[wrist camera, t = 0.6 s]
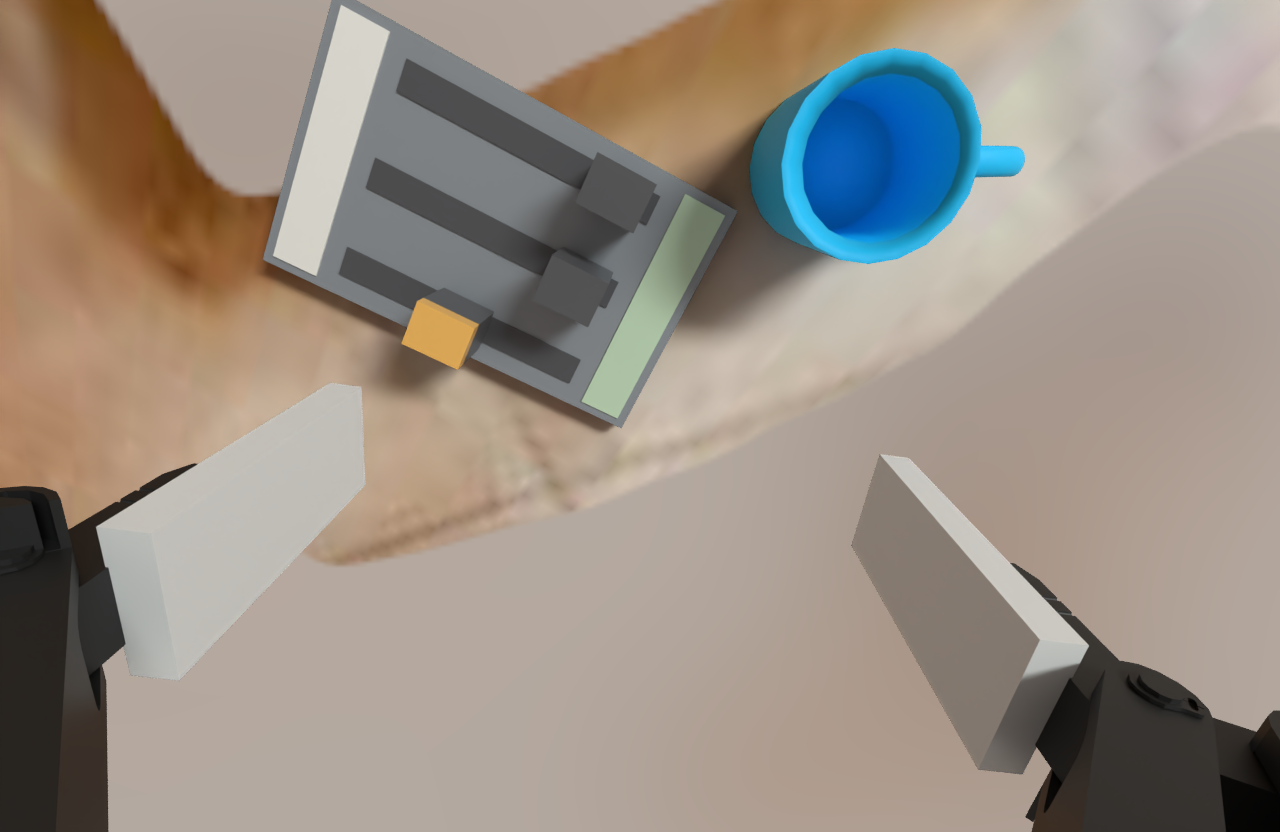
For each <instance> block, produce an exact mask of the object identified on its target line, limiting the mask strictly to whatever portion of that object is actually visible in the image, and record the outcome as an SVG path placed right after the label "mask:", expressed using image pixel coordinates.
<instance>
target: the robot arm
mask: <svg viewBox="0 0 1280 832" xmlns="http://www.w3.org/2000/svg"><path fill="white" fill-rule="evenodd" d="M364 486H365V468H364V441H363V415H362V389H361V387H358V386H350V385H343V384H335V383H329V384H327V385H326V386H324V387H323V388H321V389H319V390H318V391H316V392H314V393H313V394H311V395H310V396H308V397H306V398H305V399H303V400H301V401H300V402H298V403H297V404H295V405H293V406H292V407H290V408H288V409H287V410H285V411H284V412H282V413H280V414H279V415H277V416H275V417H274V418H272V419H271V420H269V421H267V422H266V423H264V424H262V425H261V426H259V427H258V428H256V429H254V430H253V431H251V432H249V433H248V434H246V435H245V436H243V437H241V438H240V439H238V440H236V441H235V442H233V443H232V444H230V445H228V446H227V447H225V448H223V449H222V450H220V451H219V452H217V453H215V454H214V455H212V456H210V457H209V458H207V459H206V460H204V461H202V462H201V463H199V464H191V465H188V466H185V467H182V468H179V469H176V470H173V471H170V472H167V473H164V474H162V475H160V476H159V477H157V478H155V479H154V480H152V481H150V482H149V483H147V484H145V485H144V486H142V487H140V490H139V491H136V490H135V491H133V492H132V493H130V494H128V495H127V496H125V497H123V498H122V499H121V501H120V502H115V503H113V504H111V505H110V506H108V507H106V508H105V509H103V510H101V511H100V512H98V513H96V514H95V515H93V516H91V517H89V518H88V519H86V520H84V521H83V522H81V523H79V524H78V525H76V526H74V527H73V528H71V529H69V530H68V527H67V523H66V519H65V515H64V511H63V507H62V503H61V499H60V497H59V496H58V494H57V492H56V491H53V490H50V489H47V488H44V487H30V486H20V487H8V488H0V832H108V782H107V781H108V778H107V777H108V775H107V703H106V702H107V701H106V679H105V675H104V671H103V667H102V664H103V663H104V662H106V661H107V660H108V659H109V658H110V657H111V656H112V655H113V654H115V653H116V652H117V651H118V650H119V649H121V648H122V647H123V646H124V650H125V655H126V659H127V663H128V668H129V672H130V675H132V676H141V677H150V678H159V679H168V680H177V681H179V680H181V678H182V677H183V676H184V675H185V674H186V673H187V672H188V671H189V670H190V669H191V668H192V667H193V666H194V664H196V663H197V662H198V660H200V658H201V657H202V656H203V655H204V654H205V653H206V652H207V651H208V650H209V649H210V648H211V647H212V646H213V644H215V643H216V642H217V641H218V639H220V637H221V636H222V635H223V634H224V633H225V632H226V631H227V630H228V629H229V628H230V627H231V626H232V625H233V624H234V623H235V622H236V620H237V619H238V618H239V617H240V616H241V615H242V614H243V613H244V612H245V611H246V610H247V609H248V608H249V607H250V606H251V605H252V604H253V602H255V600H257V598H258V597H259V596H260V595H261V594H262V593H263V592H264V591H265V590H266V589H267V588H268V587H269V586H270V585H271V584H272V583H273V582H274V580H276V578H277V577H278V576H279V575H280V574H281V573H282V572H283V571H284V570H285V569H286V568H287V567H288V566H289V565H290V564H291V563H292V562H293V561H294V560H295V559H296V557H297V556H298V555H299V554H300V553H301V552H302V551H303V550H304V549H305V548H306V547H307V546H308V545H309V544H310V543H311V542H312V541H313V540H314V539H315V537H316V536H317V535H318V534H319V533H320V532H321V531H322V530H323V529H324V528H325V527H326V526H327V525H328V524H329V523H330V522H331V521H332V520H333V519H334V517H335V516H336V515H337V514H338V513H339V512H340V511H341V510H342V509H343V508H344V507H345V506H346V505H347V504H348V503H349V502H350V501H351V500H352V499H353V497H354V496H355V495H356V494H357V493H358V492H359V491H360V490H361V489H362V488H363V487H364ZM851 546H852V547H853V549H854V551H855V553H856V555H857V556H858V558H859V559H860V562H861V563H862V565H863V567H864V569H865V570H866V572H867V574H868V576H869V578H870V579H871V581H872V583H873V585H874V586H875V588H876V590H877V592H878V593H879V595H880V597H881V599H882V601H883V602H884V604H885V606H886V607H887V609H888V611H889V613H890V614H891V616H892V618H893V620H894V622H895V624H896V625H897V627H898V629H899V630H900V632H901V634H902V636H903V638H904V639H905V641H906V643H907V645H908V646H909V648H910V650H911V652H912V654H913V655H914V657H915V659H916V661H917V662H918V664H919V666H920V668H921V669H922V671H923V673H924V675H925V676H926V678H927V680H928V682H929V684H930V685H931V687H932V689H933V690H934V692H935V694H936V696H937V698H938V699H939V701H940V703H941V705H942V707H943V708H944V710H945V712H946V714H947V715H948V717H949V719H950V721H951V722H952V724H953V726H954V728H955V730H956V731H957V733H958V735H959V737H960V738H961V740H962V742H963V744H964V745H965V747H966V749H967V751H968V752H969V754H970V756H971V758H972V760H973V761H974V763H975V765H976V767H977V768H978V769H979V770H987V771H996V772H1005V773H1014V774H1023V772H1024V770H1025V768H1026V766H1027V764H1028V763H1029V761H1030V759H1031V757H1032V755H1033V753H1034V751H1035V749H1036V747H1037V748H1038V750H1039V751H1040V752H1041V754H1042V755H1043V756H1044V758H1045V760H1046V761H1047V762H1048V764H1049V765H1050V767H1051V770H1050V772H1049V774H1048V776H1047V778H1046V780H1045V781H1044V783H1043V785H1042V787H1041V789H1040V791H1039V792H1038V794H1037V796H1036V798H1035V800H1034V802H1033V804H1032V805H1031V807H1030V809H1029V811H1028V813H1027V815H1026V818H1028V819H1029V820H1031V821H1032V822H1033V821H1034V824H1033V828H1032V832H1280V711H1273V712H1272V713H1271V714H1270V715H1269V716H1268V717H1267V718H1266V720H1265V721H1264V722H1263V724H1262V725H1261V727H1260V728H1259V730H1258V731H1257V732H1255V731H1251V730H1249V729H1246V728H1243V727H1240V726H1237V725H1233V724H1230V723H1227V722H1224V721H1221V720H1218V719H1215V718H1212V716H1211V714H1210V711H1209V709H1208V708H1207V707H1206V706H1205V705H1204V704H1203V703H1202V702H1201V701H1200V700H1199V699H1198V698H1197V697H1196V696H1195V695H1194V694H1193V693H1191V692H1190V691H1189V690H1187V689H1186V688H1185V687H1183V686H1182V685H1180V684H1179V683H1177V682H1176V681H1174V680H1172V679H1170V678H1168V677H1166V676H1165V675H1163V674H1161V673H1159V672H1157V671H1155V670H1152V669H1149V668H1147V667H1144V666H1142V665H1139V664H1134V663H1130V662H1124V661H1119V660H1118V659H1117V658H1116V657H1115V656H1114V655H1113V654H1112V653H1111V652H1110V651H1109V650H1108V649H1107V648H1106V647H1105V646H1104V645H1103V644H1102V643H1101V642H1100V641H1099V640H1098V639H1097V638H1096V637H1095V636H1094V635H1093V634H1092V633H1091V632H1090V631H1089V630H1088V629H1087V627H1085V625H1083V623H1082V622H1081V621H1080V620H1079V619H1077V617H1075V616H1072V615H1071V611H1070V610H1069V609H1068V608H1067V607H1066V606H1065V605H1064V604H1063V603H1061V602H1060V601H1057V597H1056V596H1055V595H1054V594H1053V593H1052V592H1051V591H1050V590H1049V589H1048V588H1047V587H1046V586H1045V585H1043V583H1042V582H1041V581H1040V580H1038V579H1037V578H1035V577H1034V576H1032V575H1031V574H1029V573H1028V572H1026V571H1025V570H1023V569H1022V568H1020V567H1019V566H1017V565H1016V564H1014V563H1009V562H1008V561H1007V560H1006V559H1005V558H1004V557H1003V556H1002V555H1001V553H1000V552H998V550H997V549H996V548H995V547H994V546H993V545H992V544H991V543H990V542H989V541H988V540H987V539H986V538H985V537H984V536H983V535H982V534H981V533H980V532H979V531H978V529H976V527H975V526H974V525H973V524H972V523H970V521H969V520H968V519H967V518H966V517H965V516H964V515H963V514H962V513H961V512H960V511H959V510H958V509H957V508H956V507H955V506H954V504H953V503H952V502H951V501H950V500H949V499H948V498H947V497H946V496H945V495H944V494H943V493H942V492H941V491H940V490H939V489H938V488H937V487H936V486H935V485H934V484H933V483H932V482H931V481H930V480H929V478H928V477H927V476H926V475H925V474H924V473H923V472H922V471H921V470H920V469H919V468H918V467H917V466H916V465H915V464H914V463H913V462H912V461H911V460H910V459H909V458H905V457H897V456H890V455H882V454H880V455H879V458H878V461H877V465H876V468H875V471H874V474H873V477H872V480H871V484H870V487H869V490H868V494H867V497H866V500H865V503H864V506H863V510H862V513H861V516H860V519H859V523H858V526H857V529H856V532H855V535H854V539H853V542H852V545H851Z"/></svg>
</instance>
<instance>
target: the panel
mask: <svg viewBox="0 0 1280 832" xmlns="http://www.w3.org/2000/svg"><path fill="white" fill-rule="evenodd" d="M597 152H599V153H601V154H602V155H604V156H606V157H608V158H610V159H611V160H613V161H615V162H617V163H619V164H621V165H622V166H624V167H626V168H628V169H630V170H632V171H633V172H635V173H637V174H639V175H641V176H643V177H644V178H646V179H648V180H650V181H652V182H653V183H655V184H657V186H656V188H655V190H654V192H653V194H652V196H651V198H650V200H649V202H648V204H647V206H646V208H645V211H644V213H643V215H642V217H641V219H640V221H639V223H638V225H637V227H636V229H635V231H634V233H631V232H629V231H627V230H625V229H624V228H622V227H620V226H618V225H616V224H614V223H612V222H610V221H608V220H607V219H605V218H603V217H601V216H599V215H597V214H595V213H593V212H591V211H590V210H588V209H586V208H584V207H582V206H580V205H578V204H576V203H575V202H576V199H577V197H578V195H579V192H580V190H581V188H582V186H583V183H584V181H585V179H586V177H587V174H588V172H589V170H590V167H591V165H592V163H593V161H594V158H595V156H596V154H597ZM737 212H738V211H736V210H735V209H733V208H731V207H729V206H727V205H726V204H724V203H722V202H720V201H718V200H716V199H715V198H713V197H711V196H709V195H707V194H706V193H704V192H702V191H700V190H698V189H697V188H695V187H693V186H691V185H689V184H688V183H686V182H684V181H682V180H680V179H679V178H677V177H675V176H673V175H671V174H669V173H668V172H666V171H664V170H662V169H660V168H659V167H657V166H655V165H653V164H651V163H650V162H648V161H646V160H644V159H642V158H641V157H639V156H637V155H635V154H633V153H631V152H630V151H628V150H626V149H624V148H622V147H621V146H619V145H617V144H615V143H613V142H612V141H610V140H608V139H606V138H604V137H603V136H601V135H599V134H597V133H595V132H594V131H592V130H590V129H588V128H586V127H584V126H583V125H581V124H579V123H577V122H575V121H574V120H572V119H570V118H568V117H566V116H565V115H563V114H561V113H559V112H557V111H556V110H554V109H552V108H550V107H548V106H546V105H545V104H543V103H541V102H539V101H537V100H536V99H534V98H532V97H530V96H528V95H527V94H525V93H523V92H521V91H519V90H518V89H516V88H514V87H512V86H510V85H508V84H507V83H505V82H503V81H501V80H499V79H498V78H496V77H494V76H492V75H490V74H489V73H487V72H485V71H483V70H481V69H480V68H478V67H476V66H474V65H472V64H470V63H469V62H467V61H465V60H463V59H461V58H460V57H458V56H456V55H454V54H452V53H451V52H449V51H447V50H445V49H443V48H442V47H440V46H438V45H436V44H434V43H433V42H431V41H429V40H427V39H425V38H423V37H422V36H420V35H418V34H416V33H414V32H413V31H411V30H409V29H407V28H405V27H403V26H402V25H400V24H398V23H396V22H395V21H393V20H391V19H389V18H387V17H385V16H384V15H381V14H380V13H378V12H376V11H375V10H373V9H371V8H369V7H367V6H365V5H364V4H362V3H360V2H358V1H357V0H332V1H331V5H330V9H329V12H328V16H327V20H326V24H325V27H324V31H323V35H322V39H321V42H320V46H319V50H318V54H317V58H316V62H315V65H314V69H313V73H312V77H311V81H310V84H309V88H308V92H307V95H306V99H305V103H304V106H303V111H302V114H301V118H300V121H299V125H298V129H297V133H296V137H295V141H294V144H293V148H292V152H291V155H290V160H289V163H288V167H287V171H286V174H285V178H284V182H283V186H282V189H281V193H280V197H279V201H278V204H277V208H276V212H275V216H274V219H273V223H272V227H271V231H270V235H269V238H268V242H267V246H266V250H265V253H264V257H263V260H264V261H266V262H269V263H271V264H273V265H275V266H277V267H279V268H281V269H284V270H286V271H288V272H290V273H292V274H294V275H296V276H298V277H301V278H303V279H305V280H307V281H309V282H311V283H313V284H315V285H318V286H320V287H322V288H324V289H326V290H328V291H330V292H332V293H335V294H337V295H339V296H341V297H343V298H345V299H347V300H349V301H352V302H354V303H356V304H358V305H360V306H362V307H364V308H366V309H369V310H371V311H373V312H375V313H377V314H379V315H381V316H383V317H386V318H388V319H390V320H392V321H394V322H396V323H398V324H401V325H403V326H405V327H408V324H409V322H410V319H411V316H412V314H413V311H414V308H415V305H416V303H417V301H418V300H420V299H422V298H424V297H426V296H428V295H430V294H432V293H434V292H436V291H438V290H440V289H442V288H446V289H448V290H450V291H452V292H454V293H456V294H458V295H460V296H463V297H465V298H467V299H469V300H471V301H473V302H475V303H477V304H479V305H481V306H483V307H485V308H487V309H489V310H491V311H493V312H494V314H493V316H492V319H491V321H490V324H489V326H488V328H487V331H486V333H485V336H484V338H483V340H482V343H481V345H480V348H479V349H478V350H477V351H476V352H475V353H474V354H473V355H472V356H471V358H473V359H475V360H477V361H479V362H481V363H483V364H486V365H488V366H490V367H492V368H494V369H496V370H498V371H500V372H503V373H505V374H507V375H509V376H511V377H513V378H515V379H518V380H520V381H522V382H524V383H526V384H528V385H530V386H532V387H535V388H537V389H539V390H541V391H543V392H545V393H547V394H549V395H552V396H554V397H556V398H558V399H560V400H562V401H564V402H566V403H569V404H571V405H573V406H575V407H577V408H579V409H581V410H583V411H586V412H588V413H590V414H592V415H594V416H596V417H598V418H600V419H603V420H605V421H607V422H609V423H611V424H613V425H615V426H617V427H620V428H622V426H623V424H624V422H625V420H626V419H627V417H628V415H629V413H630V411H631V409H632V407H633V406H634V404H635V402H636V400H637V398H638V396H639V394H640V392H641V391H642V389H643V387H644V385H645V383H646V381H647V379H648V378H649V376H650V374H651V372H652V370H653V368H654V366H655V365H656V363H657V361H658V359H659V357H660V355H661V353H662V352H663V350H664V348H665V346H666V344H667V342H668V340H669V339H670V337H671V335H672V333H673V331H674V329H675V327H676V326H677V324H678V322H679V320H680V318H681V316H682V314H683V312H684V311H685V309H686V307H687V305H688V303H689V301H690V299H691V298H692V296H693V294H694V292H695V290H696V288H697V286H698V285H699V283H700V281H701V279H702V277H703V275H704V273H705V272H706V270H707V268H708V266H709V264H710V262H711V260H712V259H713V257H714V255H715V253H716V251H717V249H718V247H719V246H720V244H721V242H722V240H723V238H724V236H725V234H726V232H727V231H728V229H729V227H730V225H731V223H732V221H733V219H734V218H735V216H736V214H737ZM563 246H564V247H566V248H567V249H569V250H571V251H573V252H575V253H577V254H579V255H581V256H583V257H585V258H587V259H589V260H591V261H593V262H595V263H597V264H599V265H600V266H602V267H604V268H606V269H608V270H610V271H612V272H613V275H612V278H611V280H610V283H609V285H608V287H607V289H606V291H605V293H604V296H603V298H602V300H601V302H600V304H599V306H598V308H597V310H596V312H595V314H594V316H593V318H592V320H591V322H590V325H589V327H586V326H584V325H582V324H580V323H578V322H576V321H574V320H572V319H570V318H568V317H566V316H564V315H561V314H559V313H557V312H555V311H553V310H551V309H549V308H547V307H545V306H543V305H541V304H539V303H537V302H535V301H533V300H532V299H533V297H534V295H535V293H536V290H537V288H538V286H539V284H540V281H541V279H542V277H543V274H544V272H545V270H546V268H547V265H548V263H549V261H550V258H551V256H552V254H554V253H555V252H557V251H558V250H559V249H561V248H562V247H563Z"/></svg>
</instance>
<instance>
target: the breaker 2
mask: <svg viewBox="0 0 1280 832" xmlns="http://www.w3.org/2000/svg"><path fill="white" fill-rule="evenodd" d="M656 186H657V184H655V183H653V182H652V181H650V180H648V179H646V178H644V177H643V176H641V175H639V174H637V173H635V172H633V171H632V170H630V169H628V168H626V167H624V166H622V165H621V164H619V163H617V162H615V161H613V160H611V159H610V158H608V157H606V156H604V155H602V154H601V153H599V152H597V154H596V156H595V158H594V161H593V163H592V165H591V167H590V170H589V172H588V174H587V177H586V179H585V181H584V183H583V186H582V188H581V190H580V192H579V195H578V197H577V199H576V202H575V203H576V204H578V205H580V206H582V207H584V208H586V209H588V210H590V211H591V212H593V213H595V214H597V215H599V216H601V217H603V218H605V219H607V220H608V221H610V222H612V223H614V224H616V225H618V226H620V227H622V228H624V229H625V230H627V231H629V232H631V233H634V231H635V229H636V227H637V225H638V223H639V221H640V219H641V217H642V215H643V213H644V211H645V208H646V206H647V204H648V202H649V200H650V198H651V196H652V194H653V192H654V190H655V188H656Z"/></svg>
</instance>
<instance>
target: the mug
mask: <svg viewBox="0 0 1280 832" xmlns="http://www.w3.org/2000/svg"><path fill="white" fill-rule="evenodd" d="M1024 162H1025V155H1024V152H1023V151H1022V150H1021V149H1020V148H1019V147H1014V146H981V124H980V121H979V117H978V114H977V111H976V107H975V104H974V100H973V97H972V95H971V93H970V92H969V91H968V89H967V88H966V87H965V85H964V84H963V82H962V81H961V80H960V78H959V77H958V76H957V74H956V73H955V72H954V70H953V69H951V68H949V67H948V66H946V65H944V64H943V63H941V62H940V61H938V60H936V59H935V58H933V57H931V56H930V55H928V54H926V53H921V52H915V51H909V50H903V49H897V48H892V49H887V50H882V51H877V52H872V53H867V54H862V55H860V56H858V57H856V58H854V59H853V60H851V61H849V62H847V63H846V64H844V65H842V66H840V67H839V68H837V69H835V70H833V71H832V72H830V73H828V74H827V75H825V76H823V77H822V78H820V79H818V80H817V81H815V82H814V83H812V84H810V85H809V86H807V87H805V88H804V89H802V90H801V91H799V92H797V93H796V94H794V95H792V96H791V97H789V98H787V99H786V100H785V101H784V102H783V103H782V104H781V105H780V106H779V107H778V108H777V109H776V110H775V111H774V112H773V113H772V114H771V115H770V117H769V118H768V119H767V120H766V122H765V124H764V126H763V128H762V130H761V132H760V134H759V135H758V137H757V139H756V141H755V143H754V148H753V153H752V158H751V164H750V169H749V170H750V180H751V190H752V195H753V198H754V200H755V202H756V205H757V207H758V209H759V212H760V214H761V216H762V217H763V218H764V219H765V220H766V221H767V223H768V224H769V225H770V226H771V227H772V228H773V229H774V230H775V231H776V232H777V233H779V234H780V235H782V236H784V237H786V238H788V239H790V240H792V241H794V242H796V243H798V244H801V245H803V246H806V247H808V248H811V249H814V250H816V251H819V252H821V253H824V254H827V255H829V256H832V257H834V258H837V259H840V260H846V261H852V262H859V263H866V264H870V263H876V262H882V261H888V260H893V259H898V258H900V257H902V256H904V255H906V254H908V253H910V252H912V251H914V250H916V249H918V248H920V247H922V246H924V245H926V244H927V243H929V242H930V241H931V240H932V239H933V238H934V237H935V236H936V235H937V234H939V233H940V232H941V231H942V230H943V229H944V228H945V227H946V226H947V225H948V224H950V223H951V221H952V220H953V218H954V217H955V215H956V214H957V212H958V211H959V209H960V208H961V206H962V205H963V203H964V201H965V200H966V198H967V197H968V195H969V194H970V191H971V188H972V185H973V182H974V178H975V177H1008V176H1014V175H1016V174H1018V173H1019V172H1020V171H1021V169H1022V167H1023V165H1024Z"/></svg>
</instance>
